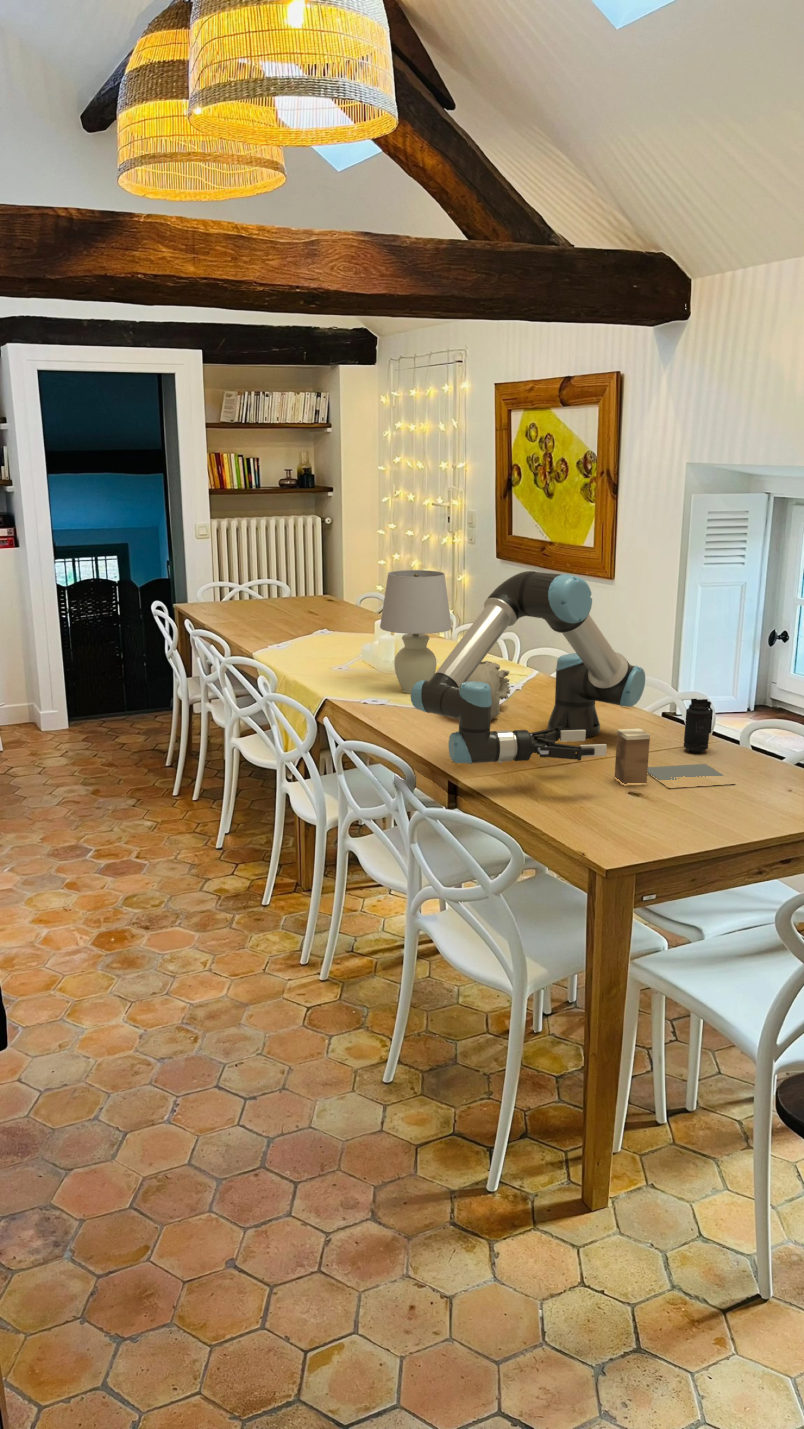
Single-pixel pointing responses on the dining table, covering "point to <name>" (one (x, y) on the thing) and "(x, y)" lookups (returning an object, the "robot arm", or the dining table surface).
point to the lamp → (415, 620)
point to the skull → (492, 683)
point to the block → (632, 756)
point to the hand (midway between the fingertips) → (595, 742)
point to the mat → (682, 771)
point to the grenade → (698, 725)
